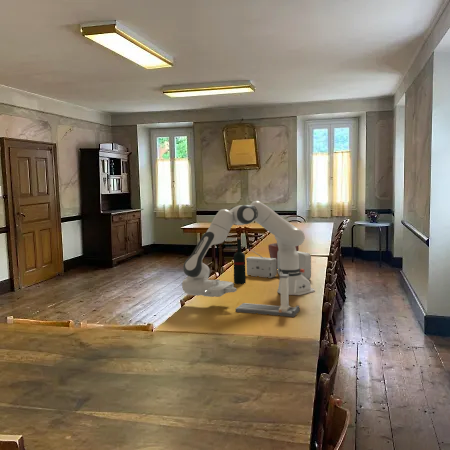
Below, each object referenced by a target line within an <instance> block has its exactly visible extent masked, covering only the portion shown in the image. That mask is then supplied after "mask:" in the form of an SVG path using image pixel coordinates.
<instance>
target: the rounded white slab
mask: <svg viewBox="0 0 450 450" xmlns="http://www.w3.org/2000/svg"><path fill="white" fill-rule="evenodd" d="M297 253H298V255H299V269H304V271H305V272H304V273H303V272H301V275H303V276H304V277H305V278H306V279H308V280H311V278H312V255H311V253H309V252H306V251H305V252H304V251H299V250H298V251H297ZM277 267H278V270H277V274H278V275H279V268H280V255H279V250H278V253H277Z"/></svg>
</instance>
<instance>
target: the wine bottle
mask: <svg viewBox="0 0 450 450" xmlns="http://www.w3.org/2000/svg"><path fill="white" fill-rule="evenodd" d="M241 238H242V237H239V236H238V237H237V252H235V253H234V254H233V283H235V285H244V283H245V284H246V282H247V281H246V280H247V279H246V275H247V273H246V255H245V253H244V252H242V239H241Z"/></svg>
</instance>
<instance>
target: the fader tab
mask: <svg viewBox="0 0 450 450" xmlns="http://www.w3.org/2000/svg"><path fill="white" fill-rule="evenodd" d="M288 277H289V274H281V275H280V277H279V280H280V281H281V294H280V306H281V307H280V308H279V309H280V310H282V311H288V310H289V309H290V307H291V305H290V304H289V303H290V302H289V299H290V298H289V297H290V296H289V281H288Z"/></svg>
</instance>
